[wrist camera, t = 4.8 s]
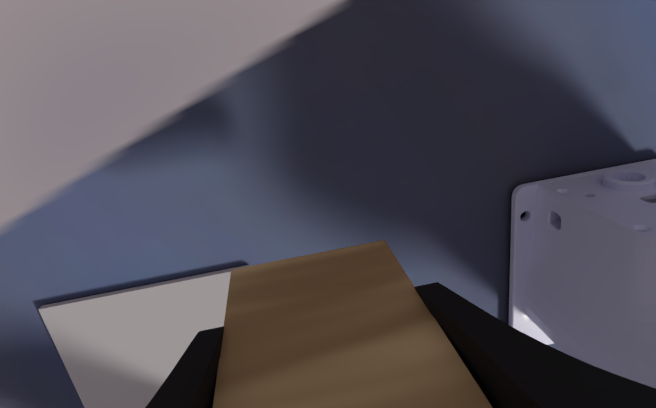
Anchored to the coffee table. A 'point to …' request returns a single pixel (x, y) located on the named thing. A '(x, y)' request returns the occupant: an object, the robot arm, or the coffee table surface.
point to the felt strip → (133, 335)
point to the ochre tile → (336, 338)
